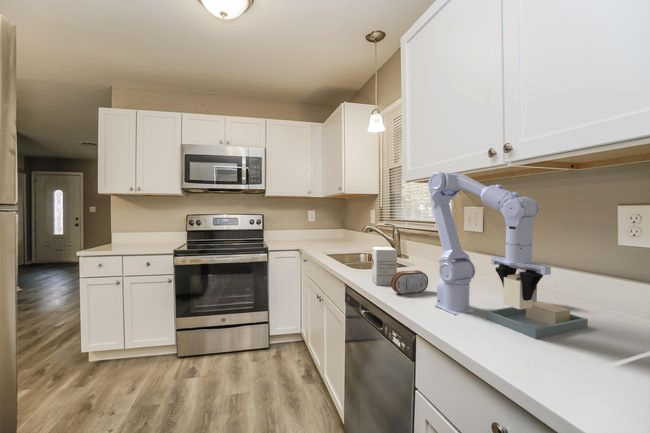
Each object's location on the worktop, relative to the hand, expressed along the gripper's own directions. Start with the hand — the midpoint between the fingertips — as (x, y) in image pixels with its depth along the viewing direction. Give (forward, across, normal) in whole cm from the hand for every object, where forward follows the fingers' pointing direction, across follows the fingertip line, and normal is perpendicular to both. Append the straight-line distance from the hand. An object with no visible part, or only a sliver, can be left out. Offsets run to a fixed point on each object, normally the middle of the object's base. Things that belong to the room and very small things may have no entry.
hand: (517, 297), depth 77 cm
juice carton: (+2, 0, 0) cm, 2 cm away
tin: (+10, -40, -4) cm, 41 cm away
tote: (+9, -2, +10) cm, 14 cm away
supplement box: (+10, -57, -5) cm, 58 cm away
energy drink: (+10, -15, +24) cm, 30 cm away
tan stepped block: (+9, -2, +15) cm, 17 cm away
